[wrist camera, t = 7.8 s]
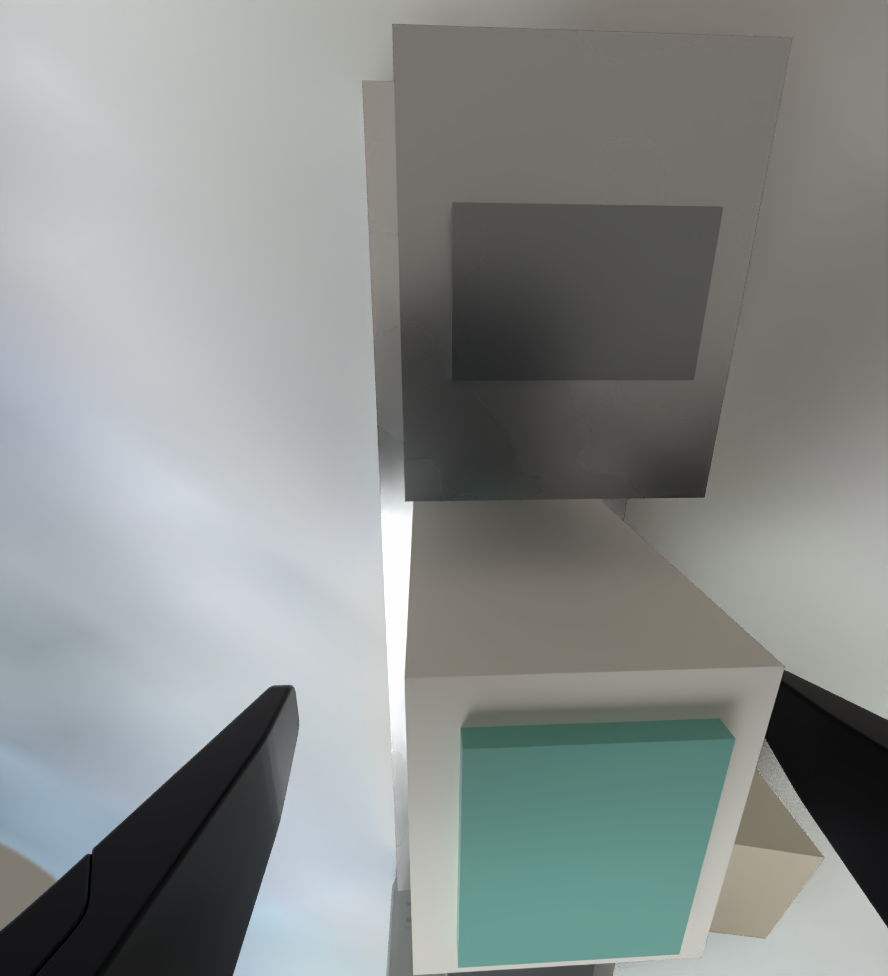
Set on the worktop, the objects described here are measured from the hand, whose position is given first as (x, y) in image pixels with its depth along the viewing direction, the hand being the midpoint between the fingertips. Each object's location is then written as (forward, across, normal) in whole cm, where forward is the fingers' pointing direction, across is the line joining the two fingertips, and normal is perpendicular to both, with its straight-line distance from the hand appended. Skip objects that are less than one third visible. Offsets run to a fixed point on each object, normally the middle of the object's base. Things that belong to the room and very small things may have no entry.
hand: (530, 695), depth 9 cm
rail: (+4, 0, 0) cm, 4 cm away
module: (+3, 0, 0) cm, 3 cm away
